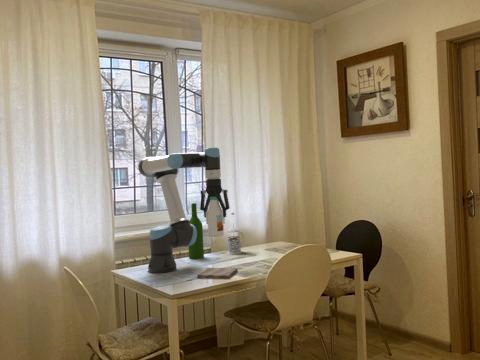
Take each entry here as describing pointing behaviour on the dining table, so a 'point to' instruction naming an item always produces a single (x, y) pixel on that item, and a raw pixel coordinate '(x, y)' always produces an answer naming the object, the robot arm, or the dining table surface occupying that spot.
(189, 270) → the dining table surface
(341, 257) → the dining table surface
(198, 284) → the dining table surface
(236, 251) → the french press
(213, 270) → the walnut board
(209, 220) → the milk bottle
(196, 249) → the wine bottle
